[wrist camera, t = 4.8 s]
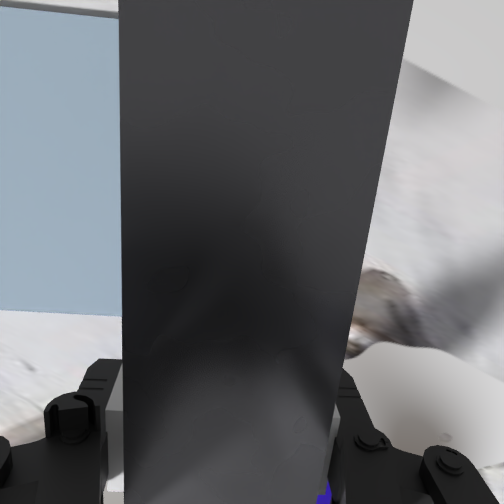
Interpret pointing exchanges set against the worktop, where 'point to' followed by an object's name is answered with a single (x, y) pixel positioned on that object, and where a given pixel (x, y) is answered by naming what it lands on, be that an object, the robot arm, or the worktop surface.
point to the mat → (59, 163)
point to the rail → (244, 234)
